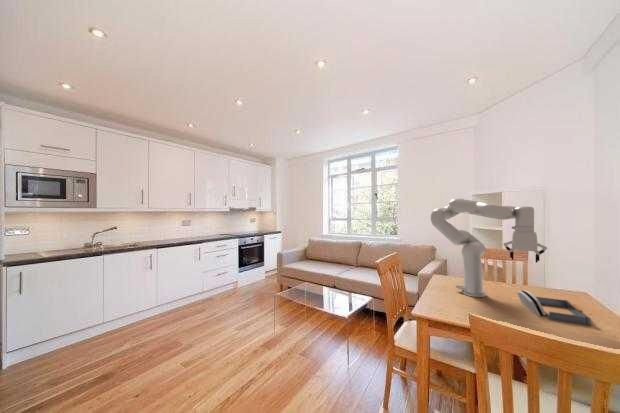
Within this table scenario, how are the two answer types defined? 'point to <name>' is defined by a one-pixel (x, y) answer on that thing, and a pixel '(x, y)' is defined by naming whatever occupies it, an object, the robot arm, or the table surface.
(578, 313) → the bay
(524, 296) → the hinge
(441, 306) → the table surface
